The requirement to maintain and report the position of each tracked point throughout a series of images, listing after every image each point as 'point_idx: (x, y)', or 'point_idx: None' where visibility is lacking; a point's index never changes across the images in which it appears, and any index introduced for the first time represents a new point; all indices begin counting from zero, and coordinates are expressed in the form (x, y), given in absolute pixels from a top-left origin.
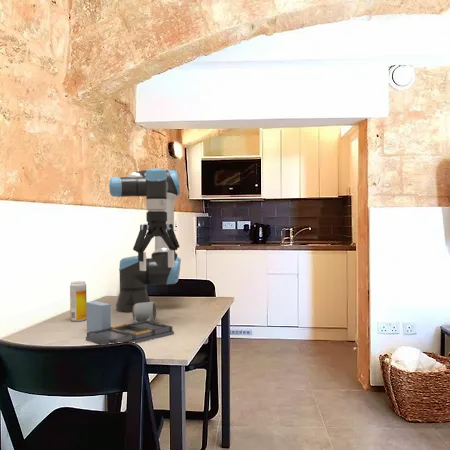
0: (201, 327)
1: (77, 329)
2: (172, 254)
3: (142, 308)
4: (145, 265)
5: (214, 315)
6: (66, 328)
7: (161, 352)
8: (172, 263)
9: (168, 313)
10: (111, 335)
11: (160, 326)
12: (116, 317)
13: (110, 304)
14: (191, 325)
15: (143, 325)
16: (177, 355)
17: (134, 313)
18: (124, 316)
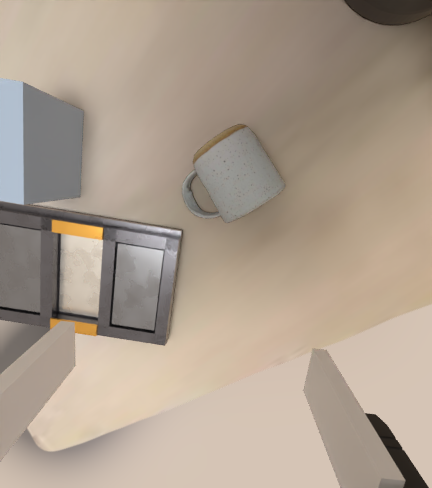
0: (258, 352)
1: (40, 67)
2: (341, 486)
3: (211, 189)
4: (49, 390)
5: (409, 300)
6: (24, 17)
7: (49, 403)
8: (313, 410)
9: (379, 150)
10: (12, 277)
11: (154, 314)
12: (235, 26)
13: (24, 204)
14: (264, 320)
15: (136, 268)
16: (55, 434)
17: (194, 166)
18: (263, 40)
